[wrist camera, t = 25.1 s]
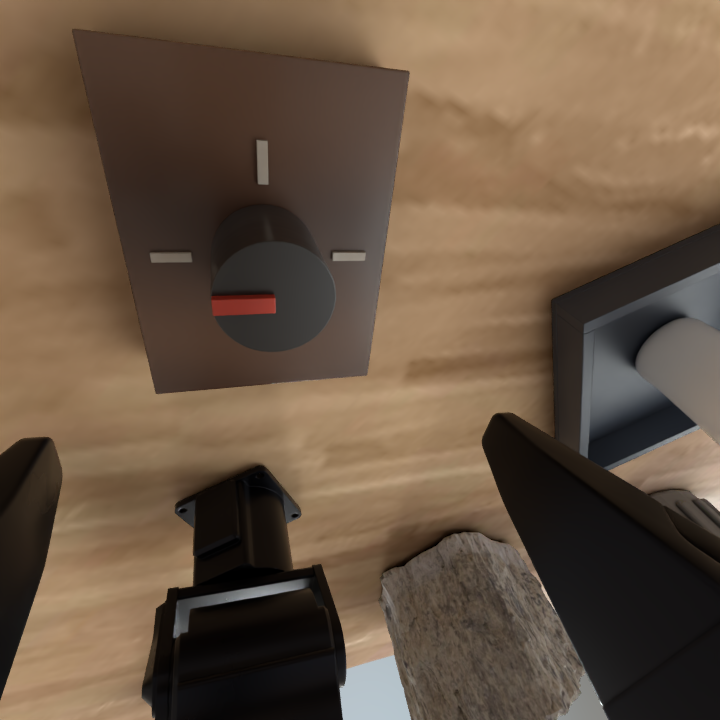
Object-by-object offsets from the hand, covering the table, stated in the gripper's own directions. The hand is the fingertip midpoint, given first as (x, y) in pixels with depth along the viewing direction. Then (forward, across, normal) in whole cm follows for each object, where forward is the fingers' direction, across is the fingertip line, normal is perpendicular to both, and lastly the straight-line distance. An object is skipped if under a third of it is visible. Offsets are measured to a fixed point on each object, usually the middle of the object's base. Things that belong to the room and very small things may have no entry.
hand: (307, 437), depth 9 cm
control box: (+13, 0, 0) cm, 13 cm away
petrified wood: (+13, -21, +36) cm, 44 cm away
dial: (+10, 0, 0) cm, 10 cm away
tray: (+13, -30, +6) cm, 33 cm away
